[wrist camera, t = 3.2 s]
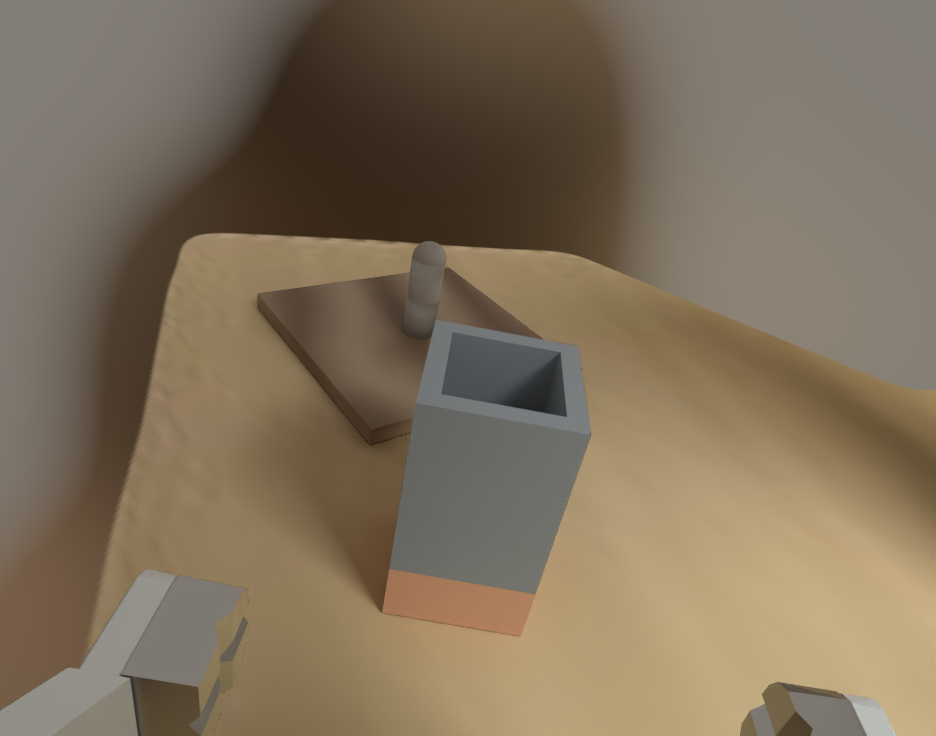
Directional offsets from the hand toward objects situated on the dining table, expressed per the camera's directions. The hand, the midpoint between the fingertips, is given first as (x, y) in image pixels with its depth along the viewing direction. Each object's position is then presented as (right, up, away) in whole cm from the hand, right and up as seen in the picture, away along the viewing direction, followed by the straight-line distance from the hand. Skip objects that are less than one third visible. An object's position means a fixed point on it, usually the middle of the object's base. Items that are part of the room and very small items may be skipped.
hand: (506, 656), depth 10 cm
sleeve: (-1, -4, +17) cm, 18 cm away
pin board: (-4, +6, +32) cm, 33 cm away
